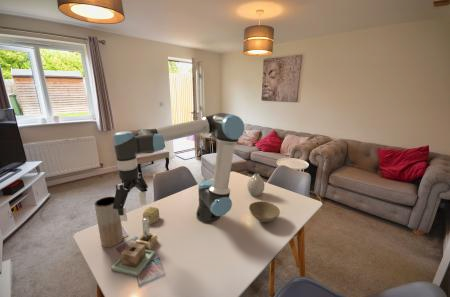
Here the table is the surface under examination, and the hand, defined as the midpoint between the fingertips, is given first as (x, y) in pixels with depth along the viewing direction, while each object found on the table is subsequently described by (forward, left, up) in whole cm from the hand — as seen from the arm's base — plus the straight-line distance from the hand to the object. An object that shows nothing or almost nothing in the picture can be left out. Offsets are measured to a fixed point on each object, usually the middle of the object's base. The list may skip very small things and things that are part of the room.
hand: (134, 211), depth 92 cm
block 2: (-1, -5, -22) cm, 22 cm away
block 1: (-2, +6, -21) cm, 22 cm away
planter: (+18, -3, -22) cm, 29 cm away
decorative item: (+9, -24, -22) cm, 34 cm away
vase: (-49, -73, -22) cm, 91 cm away
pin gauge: (-1, -5, -22) cm, 22 cm away
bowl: (-57, -41, -22) cm, 74 cm away
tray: (-2, +6, -22) cm, 22 cm away
